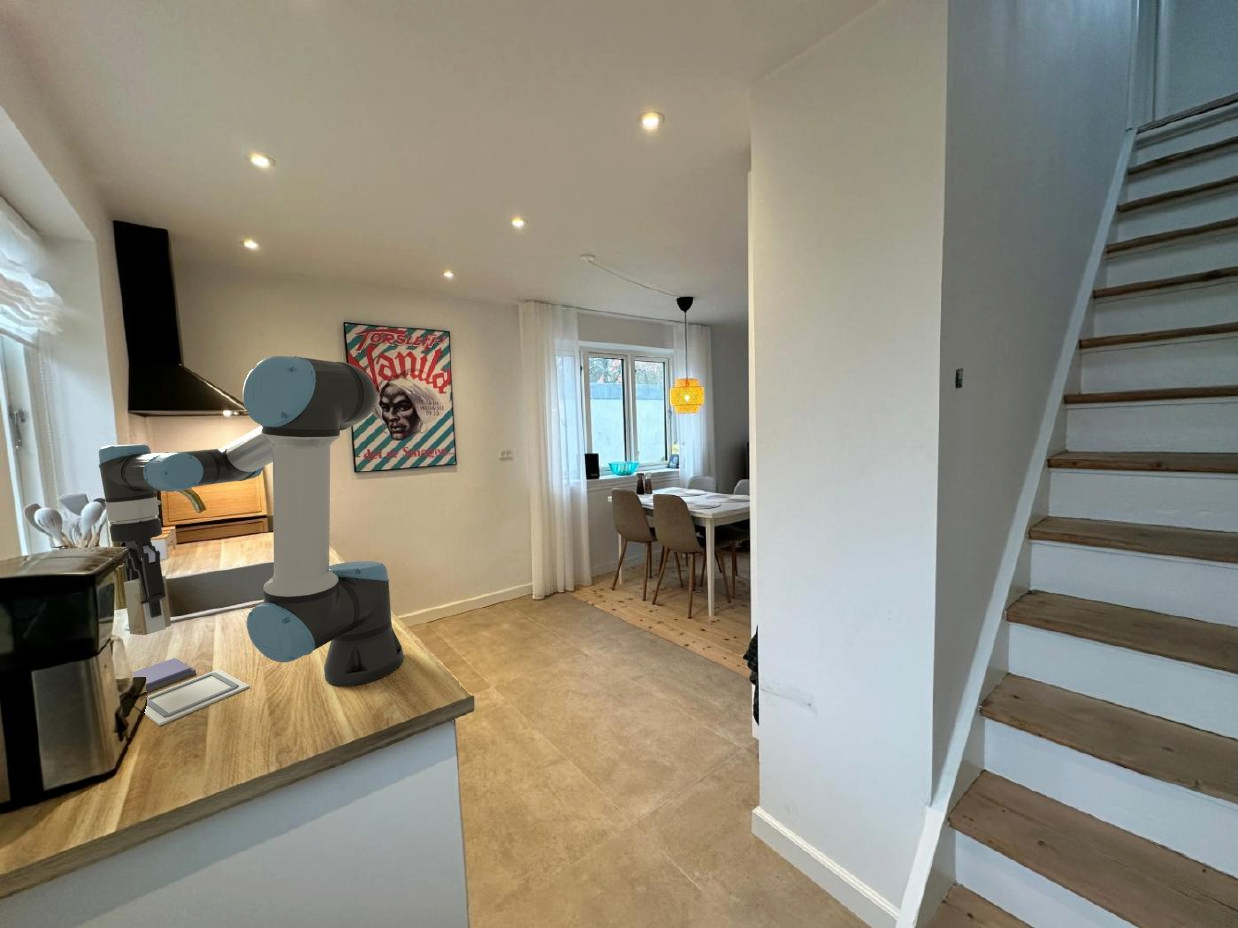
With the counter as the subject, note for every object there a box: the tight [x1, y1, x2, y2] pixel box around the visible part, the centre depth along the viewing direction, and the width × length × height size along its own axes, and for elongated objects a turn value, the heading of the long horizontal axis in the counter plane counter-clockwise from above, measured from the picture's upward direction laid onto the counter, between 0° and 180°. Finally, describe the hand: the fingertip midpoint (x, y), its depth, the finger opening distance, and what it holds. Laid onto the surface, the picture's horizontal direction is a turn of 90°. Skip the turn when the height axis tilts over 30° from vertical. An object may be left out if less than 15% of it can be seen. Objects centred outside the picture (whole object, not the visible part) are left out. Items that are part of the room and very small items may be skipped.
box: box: [123, 575, 172, 636], centre depth 102 cm, size 5×4×11 cm
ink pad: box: [131, 657, 197, 693], centre depth 104 cm, size 10×10×2 cm
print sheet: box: [144, 668, 250, 727], centre depth 97 cm, size 14×14×1 cm
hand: (151, 628), depth 103 cm, fingers closed on box, 5 cm apart
